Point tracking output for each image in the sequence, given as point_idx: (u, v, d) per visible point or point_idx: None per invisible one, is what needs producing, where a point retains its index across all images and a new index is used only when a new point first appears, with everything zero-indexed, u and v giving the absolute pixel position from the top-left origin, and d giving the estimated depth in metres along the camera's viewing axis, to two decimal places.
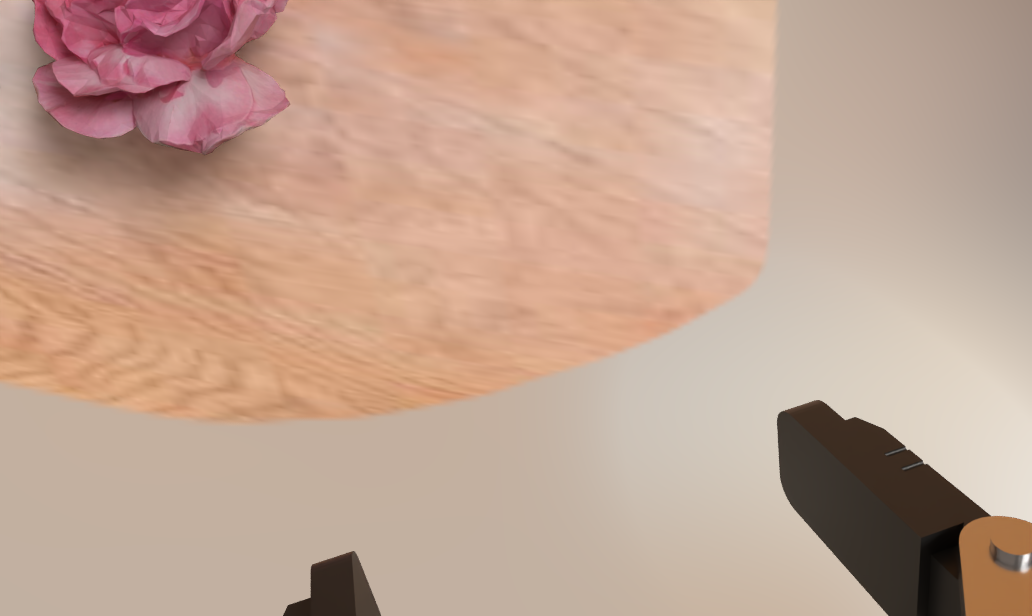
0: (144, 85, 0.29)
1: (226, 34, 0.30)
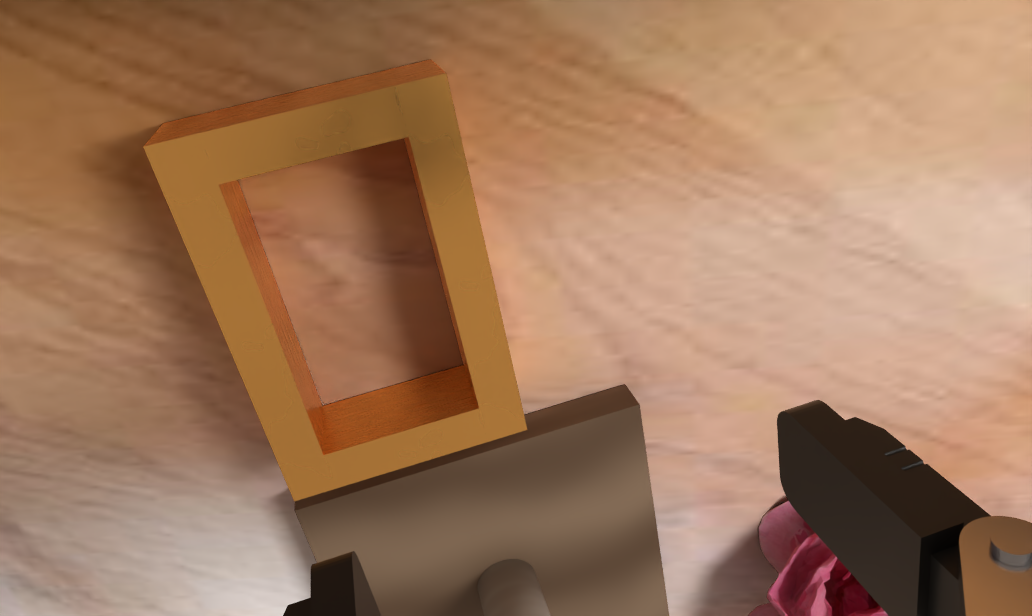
0: None
1: None
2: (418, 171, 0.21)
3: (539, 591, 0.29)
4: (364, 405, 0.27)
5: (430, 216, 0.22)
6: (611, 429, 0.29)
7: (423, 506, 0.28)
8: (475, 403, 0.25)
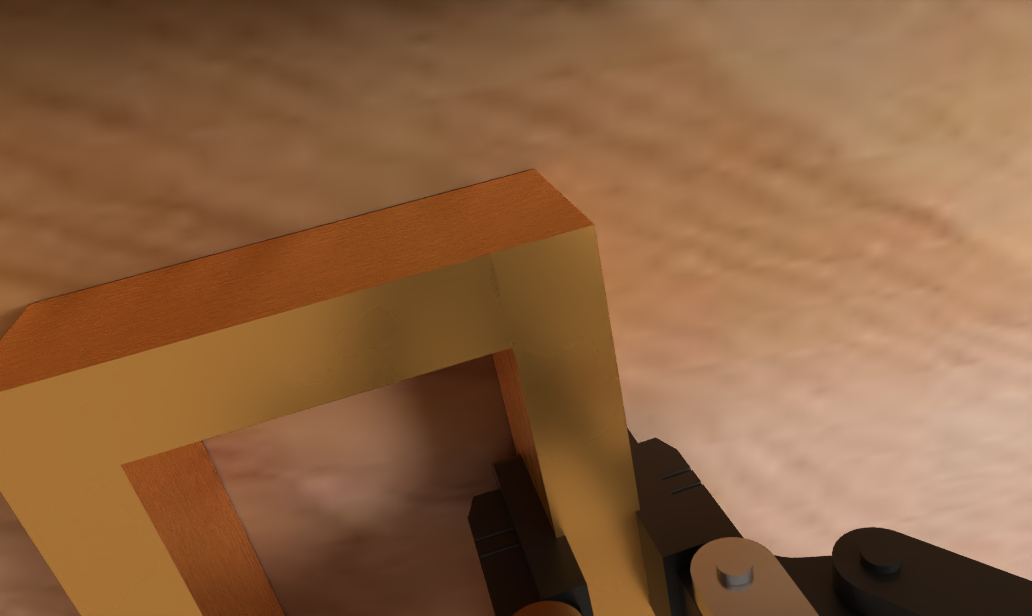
0: None
1: None
2: (527, 406, 0.11)
3: None
4: None
5: (545, 481, 0.11)
6: None
7: None
8: None
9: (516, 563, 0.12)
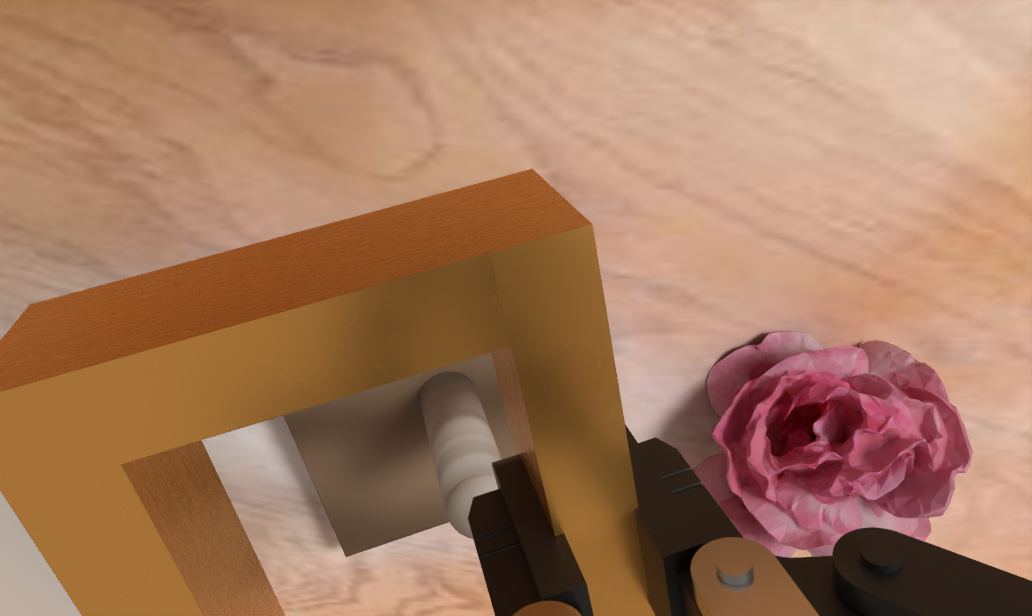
0: None
1: None
2: (525, 405, 0.11)
3: (476, 396, 0.31)
4: None
5: (544, 480, 0.11)
6: None
7: None
8: None
9: (517, 563, 0.12)
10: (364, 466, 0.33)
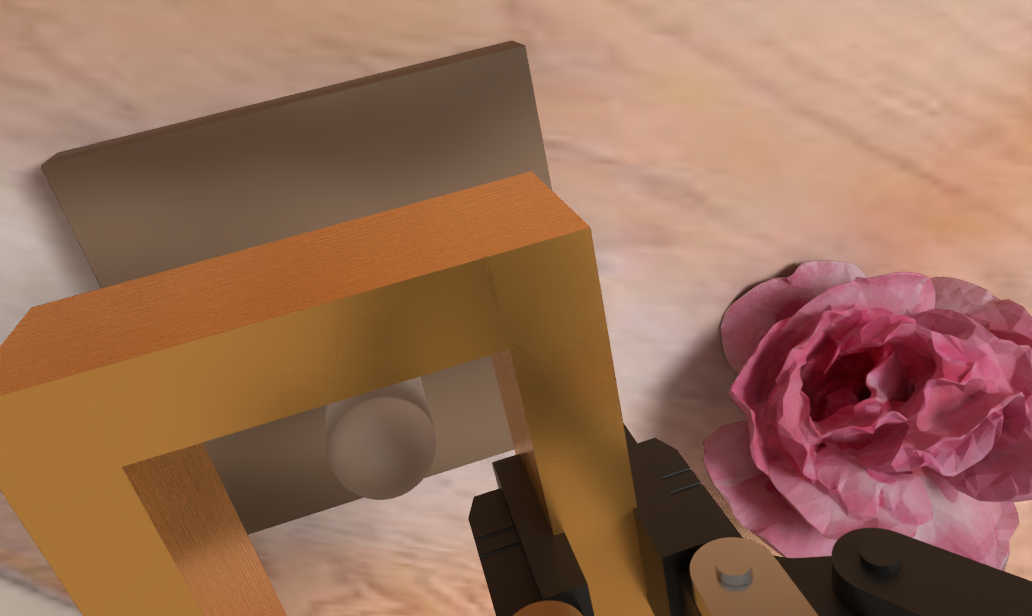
0: (911, 524, 0.24)
1: None
2: (524, 407, 0.11)
3: None
4: None
5: (543, 482, 0.11)
6: (488, 82, 0.21)
7: (230, 179, 0.21)
8: None
9: (517, 563, 0.12)
10: None
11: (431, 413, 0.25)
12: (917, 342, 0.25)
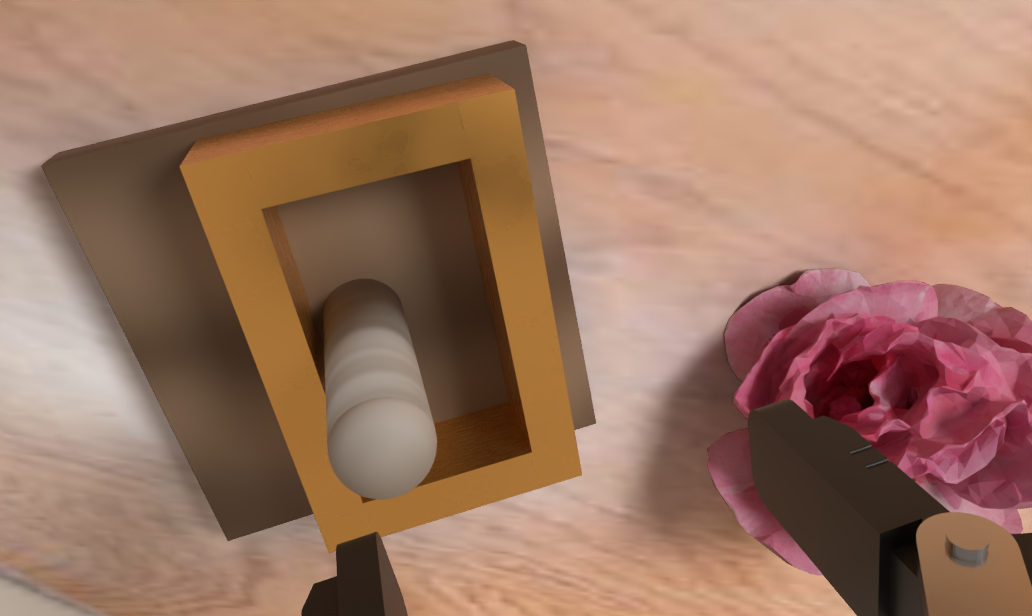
0: None
1: None
2: (479, 196, 0.19)
3: (398, 309, 0.22)
4: None
5: (490, 245, 0.20)
6: None
7: None
8: (527, 447, 0.23)
9: None
10: (247, 412, 0.24)
11: (432, 413, 0.25)
12: (920, 350, 0.25)
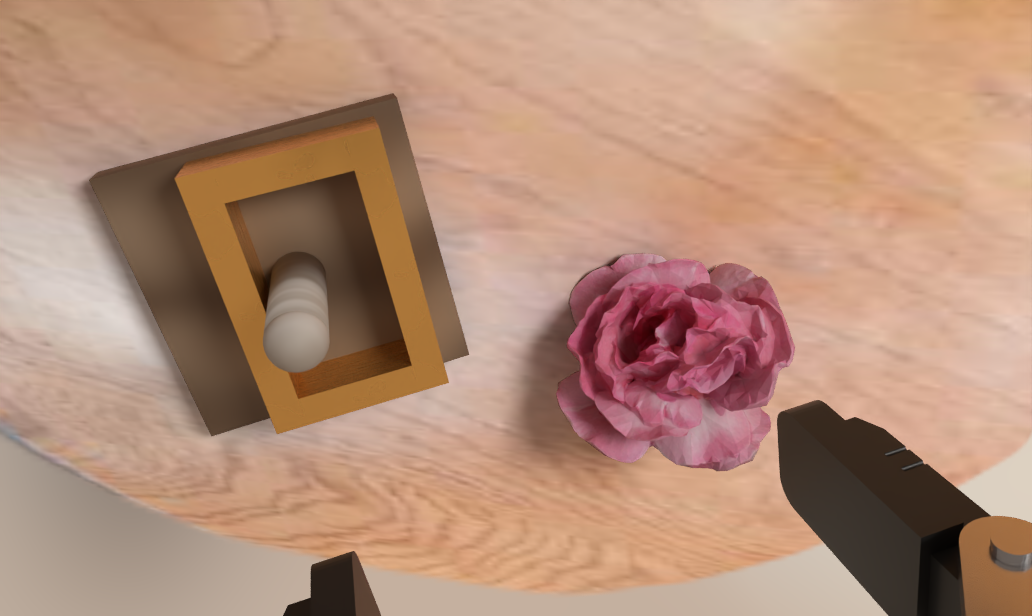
0: (684, 428, 0.36)
1: None
2: (362, 194, 0.31)
3: (318, 270, 0.33)
4: (330, 367, 0.36)
5: (371, 225, 0.32)
6: None
7: None
8: (409, 362, 0.35)
9: None
10: (223, 343, 0.35)
11: (350, 345, 0.37)
12: (685, 305, 0.36)
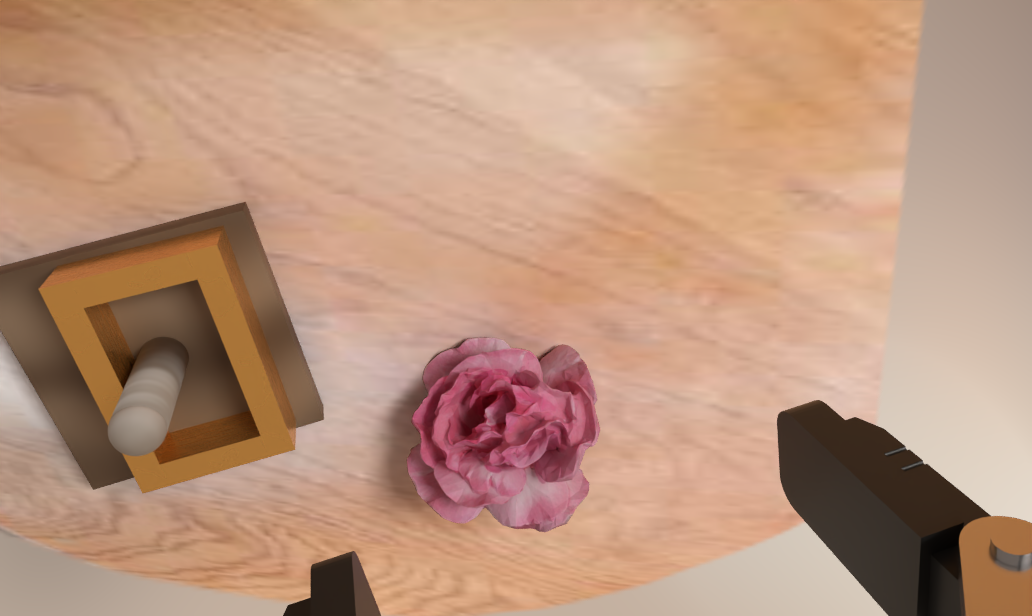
0: (505, 496, 0.42)
1: (550, 446, 0.44)
2: (205, 297, 0.37)
3: (176, 355, 0.39)
4: (194, 433, 0.42)
5: (215, 322, 0.37)
6: None
7: None
8: (259, 432, 0.40)
9: None
10: (99, 413, 0.41)
11: (214, 413, 0.42)
12: (509, 390, 0.42)
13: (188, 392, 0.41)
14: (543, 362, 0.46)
